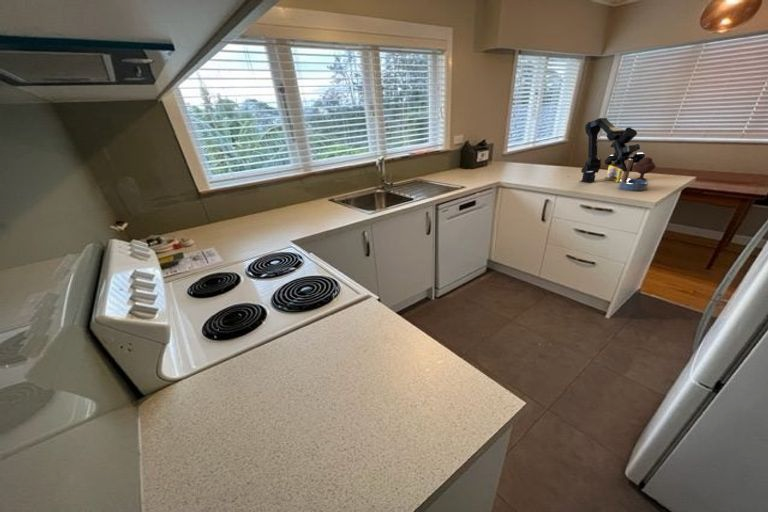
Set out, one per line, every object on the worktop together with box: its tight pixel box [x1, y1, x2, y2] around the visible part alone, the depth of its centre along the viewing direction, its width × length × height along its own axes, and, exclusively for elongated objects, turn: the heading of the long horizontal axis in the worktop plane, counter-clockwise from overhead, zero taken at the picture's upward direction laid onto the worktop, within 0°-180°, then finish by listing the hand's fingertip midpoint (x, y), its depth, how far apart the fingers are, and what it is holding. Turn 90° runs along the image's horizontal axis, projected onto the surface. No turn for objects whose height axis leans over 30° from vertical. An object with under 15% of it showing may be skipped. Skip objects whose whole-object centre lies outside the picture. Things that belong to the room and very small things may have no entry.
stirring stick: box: [618, 159, 633, 184], centre depth 170 cm, size 4×4×13 cm
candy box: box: [606, 164, 624, 183], centre depth 204 cm, size 16×2×8 cm, turn 168°
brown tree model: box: [633, 156, 657, 181], centre depth 196 cm, size 11×11×15 cm
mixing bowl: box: [618, 178, 649, 192], centre depth 182 cm, size 13×13×4 cm
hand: (628, 171), depth 169 cm, fingers closed on stirring stick, 2 cm apart
